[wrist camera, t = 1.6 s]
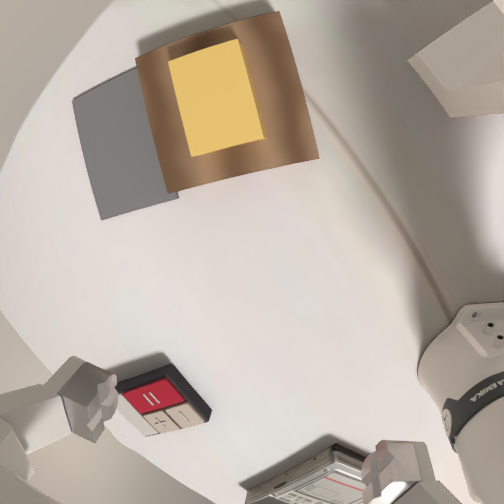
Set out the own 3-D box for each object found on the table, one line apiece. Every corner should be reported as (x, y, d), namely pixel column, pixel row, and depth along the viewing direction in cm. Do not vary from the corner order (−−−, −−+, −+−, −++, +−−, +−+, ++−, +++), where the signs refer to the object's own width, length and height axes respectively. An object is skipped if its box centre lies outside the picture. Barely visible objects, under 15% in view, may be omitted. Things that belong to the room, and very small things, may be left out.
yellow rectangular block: (242, 45, 27) (237, 38, 25) (266, 138, 30) (263, 137, 28) (177, 66, 29) (167, 61, 26) (199, 155, 32) (191, 156, 29)
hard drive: (396, 468, 49) (399, 485, 45) (306, 511, 58) (305, 526, 54) (335, 441, 47) (335, 460, 43) (246, 489, 57) (242, 505, 53)
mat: (146, 65, 32) (144, 64, 32) (178, 198, 37) (177, 198, 37) (73, 101, 35) (72, 100, 34) (103, 219, 40) (101, 220, 39)
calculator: (209, 425, 45) (143, 439, 49) (214, 406, 49) (151, 424, 53) (165, 376, 43) (103, 398, 46) (174, 359, 47) (113, 383, 50)
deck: (281, 22, 28) (279, 11, 25) (317, 156, 33) (319, 158, 30) (148, 63, 32) (135, 58, 29) (179, 188, 37) (167, 194, 33)
